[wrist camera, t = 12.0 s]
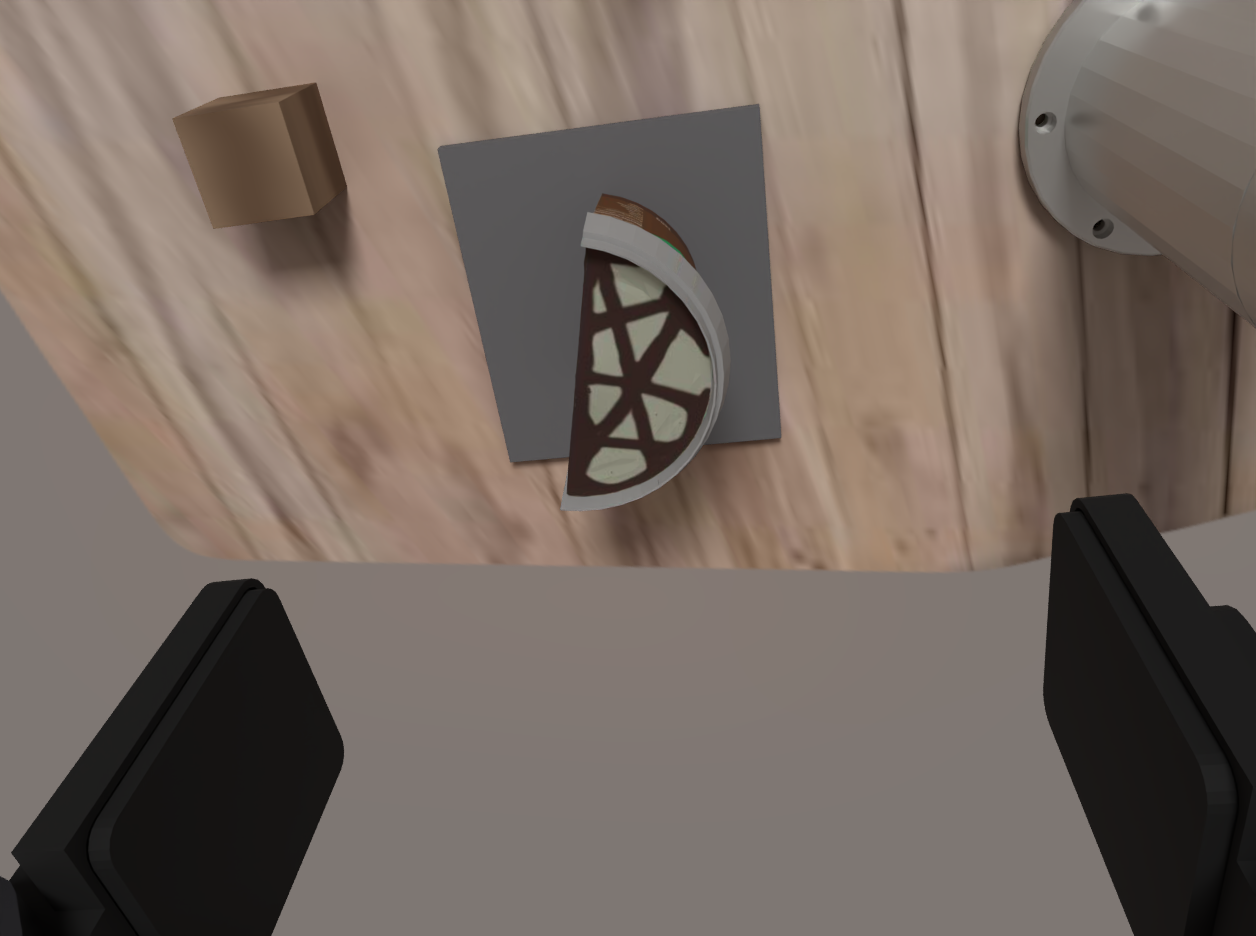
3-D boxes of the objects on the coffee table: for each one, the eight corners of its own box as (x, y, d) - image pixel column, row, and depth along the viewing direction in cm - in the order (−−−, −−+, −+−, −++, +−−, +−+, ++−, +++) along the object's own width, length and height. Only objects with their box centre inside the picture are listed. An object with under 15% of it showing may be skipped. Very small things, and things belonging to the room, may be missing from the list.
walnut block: (316, 82, 42) (278, 101, 38) (347, 185, 44) (314, 214, 40) (219, 97, 42) (172, 118, 38) (255, 199, 45) (213, 228, 41)
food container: (705, 422, 48) (707, 538, 40) (583, 408, 48) (559, 521, 40) (745, 175, 42) (758, 249, 33) (604, 158, 42) (581, 229, 33)
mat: (758, 104, 41) (759, 106, 40) (780, 432, 49) (781, 437, 49) (440, 146, 43) (437, 149, 42) (512, 456, 51) (510, 462, 50)
